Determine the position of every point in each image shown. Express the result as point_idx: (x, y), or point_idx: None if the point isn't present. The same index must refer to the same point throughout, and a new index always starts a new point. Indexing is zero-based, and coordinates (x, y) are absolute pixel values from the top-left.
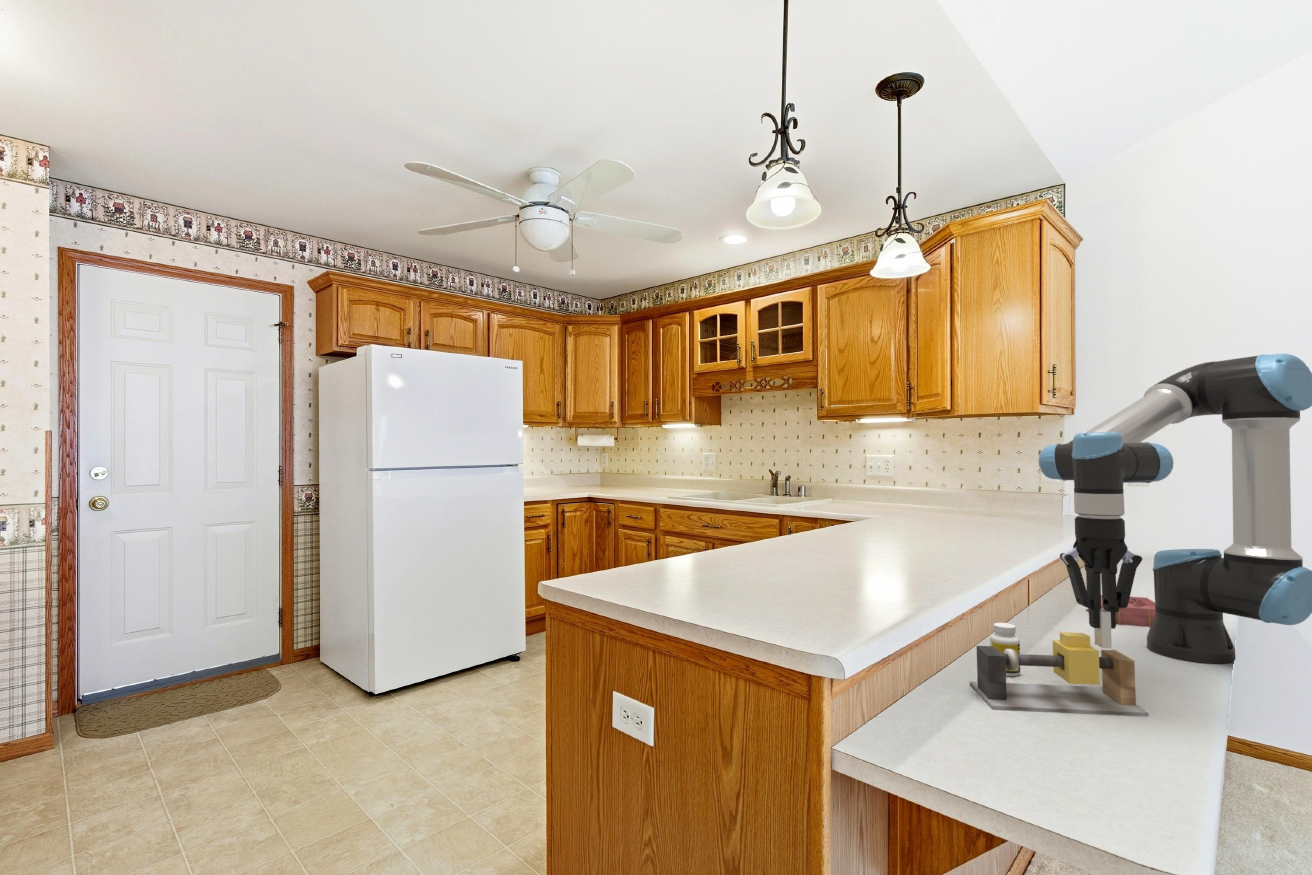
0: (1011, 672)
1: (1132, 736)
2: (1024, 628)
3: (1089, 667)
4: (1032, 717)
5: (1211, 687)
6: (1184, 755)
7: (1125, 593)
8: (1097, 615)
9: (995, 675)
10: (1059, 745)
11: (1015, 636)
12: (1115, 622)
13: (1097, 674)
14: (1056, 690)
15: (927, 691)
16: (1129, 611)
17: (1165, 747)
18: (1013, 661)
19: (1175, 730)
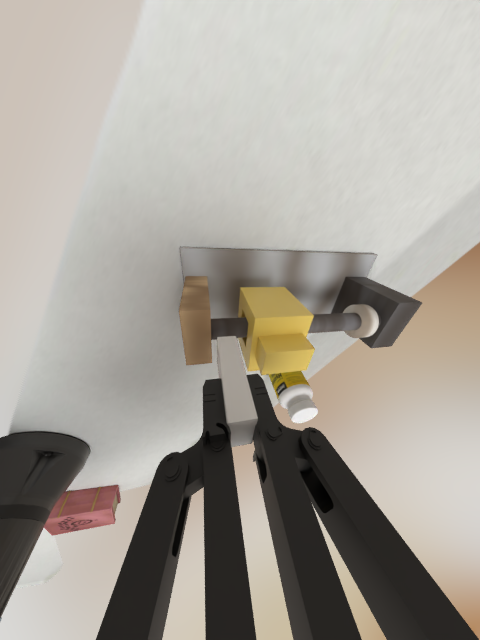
0: None
1: (253, 146)
2: None
3: (263, 299)
4: (347, 227)
5: (40, 366)
6: (206, 15)
7: (153, 558)
8: (259, 408)
9: (383, 289)
10: (399, 94)
11: (287, 401)
12: (203, 396)
13: (247, 294)
14: None
15: None
16: (82, 507)
17: (222, 77)
18: (370, 307)
19: (162, 182)
